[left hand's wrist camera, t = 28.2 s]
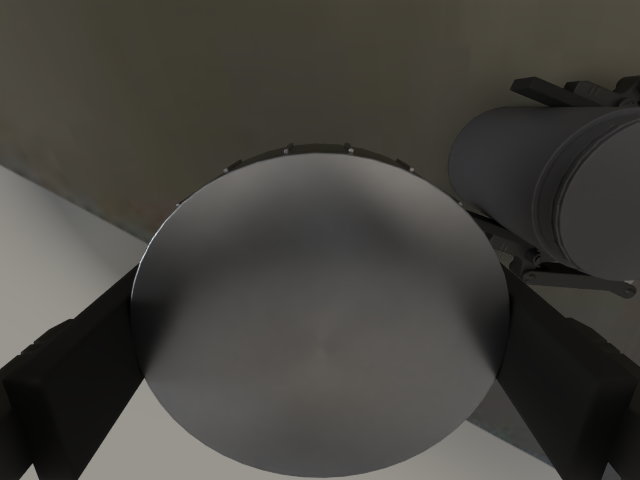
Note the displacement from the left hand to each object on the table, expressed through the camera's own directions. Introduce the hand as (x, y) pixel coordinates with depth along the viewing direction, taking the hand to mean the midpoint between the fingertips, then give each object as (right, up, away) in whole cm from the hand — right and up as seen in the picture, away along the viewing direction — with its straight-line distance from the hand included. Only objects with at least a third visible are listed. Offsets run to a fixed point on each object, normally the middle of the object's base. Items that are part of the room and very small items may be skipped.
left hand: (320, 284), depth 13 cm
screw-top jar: (+17, +9, +20) cm, 28 cm away
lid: (0, -1, -3) cm, 3 cm away
